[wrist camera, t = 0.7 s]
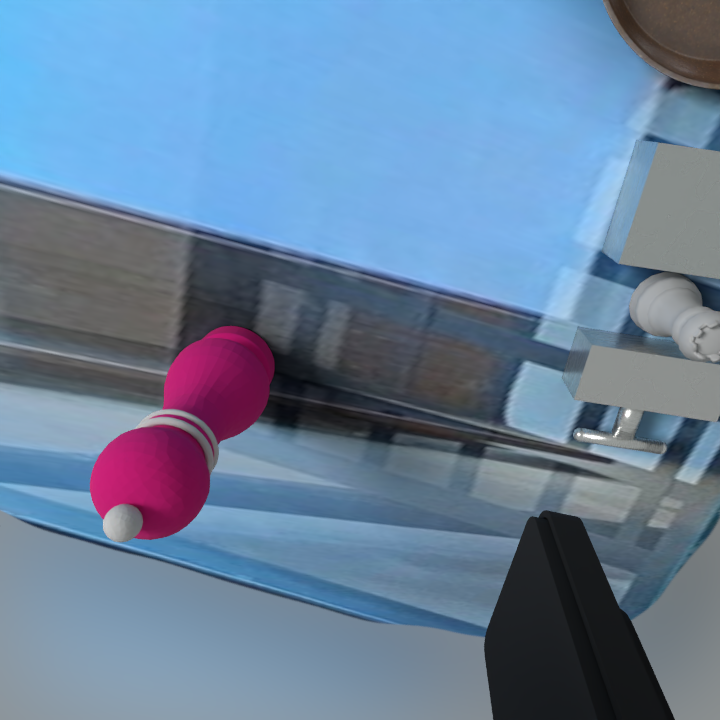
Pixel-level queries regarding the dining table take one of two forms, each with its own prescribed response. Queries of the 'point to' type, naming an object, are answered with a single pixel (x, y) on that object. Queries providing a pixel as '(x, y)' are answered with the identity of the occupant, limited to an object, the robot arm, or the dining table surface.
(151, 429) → the pepper mill
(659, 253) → the bench vise
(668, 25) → the plant saucer
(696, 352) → the rook chess piece
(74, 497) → the dining table surface
